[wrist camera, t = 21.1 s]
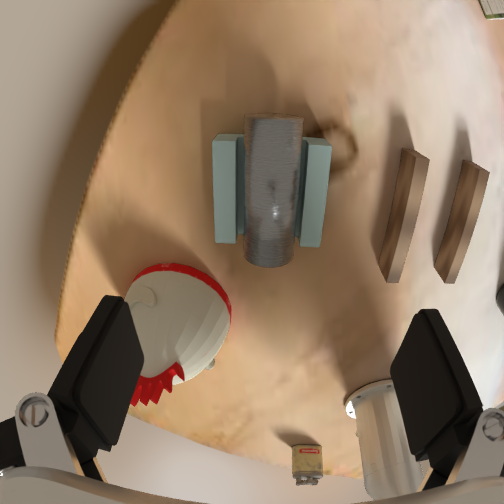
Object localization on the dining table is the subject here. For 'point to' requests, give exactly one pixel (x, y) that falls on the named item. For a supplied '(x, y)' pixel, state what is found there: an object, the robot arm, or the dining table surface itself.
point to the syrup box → (493, 9)
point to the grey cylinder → (271, 186)
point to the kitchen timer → (176, 325)
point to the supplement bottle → (501, 299)
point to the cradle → (232, 188)
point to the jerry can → (307, 464)
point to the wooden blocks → (407, 212)
